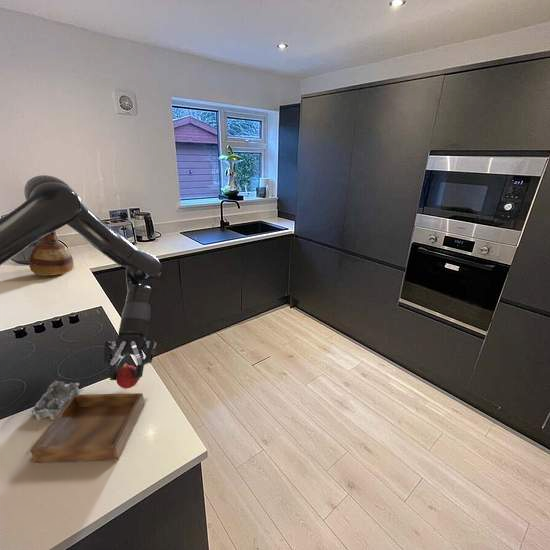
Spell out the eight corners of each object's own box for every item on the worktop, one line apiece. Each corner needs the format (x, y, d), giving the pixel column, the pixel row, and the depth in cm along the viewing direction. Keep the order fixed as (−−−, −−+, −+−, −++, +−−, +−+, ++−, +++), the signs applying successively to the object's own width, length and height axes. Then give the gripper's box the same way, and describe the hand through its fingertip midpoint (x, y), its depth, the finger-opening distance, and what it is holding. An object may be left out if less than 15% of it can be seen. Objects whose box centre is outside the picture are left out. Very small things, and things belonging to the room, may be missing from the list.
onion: (145, 385, 83) (141, 362, 80) (126, 398, 78) (120, 374, 75) (133, 377, 86) (129, 355, 83) (114, 388, 81) (109, 366, 78)
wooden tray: (35, 463, 62) (29, 450, 61) (77, 405, 77) (73, 394, 75) (118, 460, 63) (115, 447, 62) (144, 404, 78) (142, 393, 76)
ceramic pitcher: (59, 280, 154) (44, 224, 143) (22, 279, 154) (4, 223, 143) (83, 267, 172) (71, 217, 161) (50, 266, 172) (35, 216, 161)
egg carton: (59, 389, 82) (55, 378, 80) (85, 390, 82) (82, 378, 80) (29, 421, 72) (24, 408, 70) (59, 421, 72) (54, 409, 70)
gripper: (104, 316, 81) (90, 379, 75) (156, 316, 82) (147, 378, 76) (116, 322, 88) (104, 381, 82) (164, 322, 89) (156, 380, 82)
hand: (125, 379), depth 79 cm, fingers closed on onion, 5 cm apart
